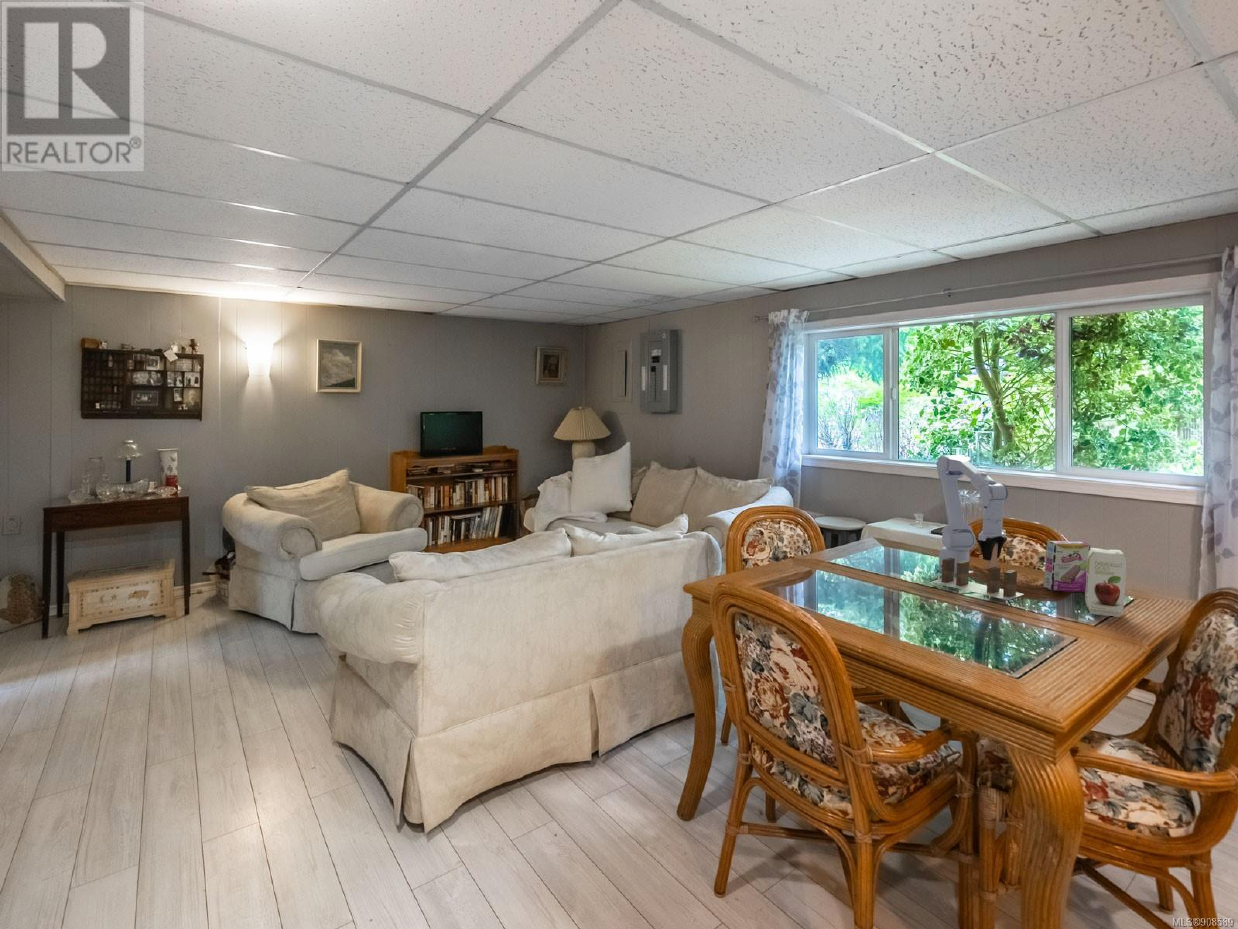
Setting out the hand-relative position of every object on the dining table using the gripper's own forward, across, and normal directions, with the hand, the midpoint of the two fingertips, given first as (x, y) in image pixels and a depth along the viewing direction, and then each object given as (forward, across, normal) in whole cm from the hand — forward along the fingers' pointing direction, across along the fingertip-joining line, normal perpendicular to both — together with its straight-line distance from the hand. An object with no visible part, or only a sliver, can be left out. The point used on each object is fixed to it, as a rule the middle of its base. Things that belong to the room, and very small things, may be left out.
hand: (991, 558), depth 205 cm
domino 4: (+10, -6, -4) cm, 12 cm away
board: (+10, -6, +2) cm, 12 cm away
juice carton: (+10, 0, -32) cm, 33 cm away
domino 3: (+3, 0, 0) cm, 3 cm away
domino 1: (+9, -6, +11) cm, 16 cm away
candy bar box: (+10, +17, -16) cm, 25 cm away
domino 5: (+10, -6, -9) cm, 14 cm away
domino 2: (+9, -6, +6) cm, 13 cm away
